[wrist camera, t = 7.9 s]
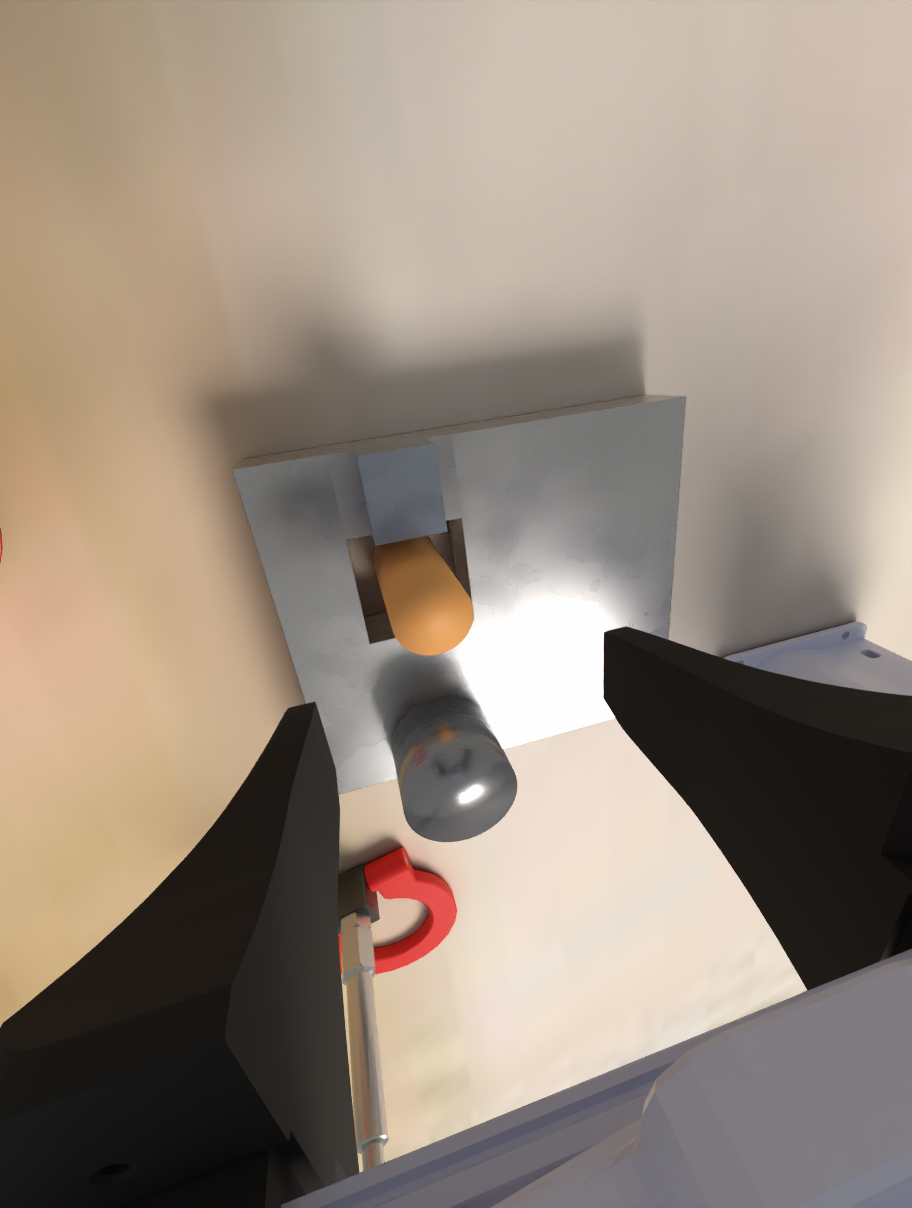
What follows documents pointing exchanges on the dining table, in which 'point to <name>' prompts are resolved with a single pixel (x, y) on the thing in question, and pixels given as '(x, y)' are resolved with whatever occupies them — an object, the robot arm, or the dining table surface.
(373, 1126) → the tow hook
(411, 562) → the orange rounded capsule
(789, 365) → the dining table surface
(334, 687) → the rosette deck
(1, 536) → the soda can
